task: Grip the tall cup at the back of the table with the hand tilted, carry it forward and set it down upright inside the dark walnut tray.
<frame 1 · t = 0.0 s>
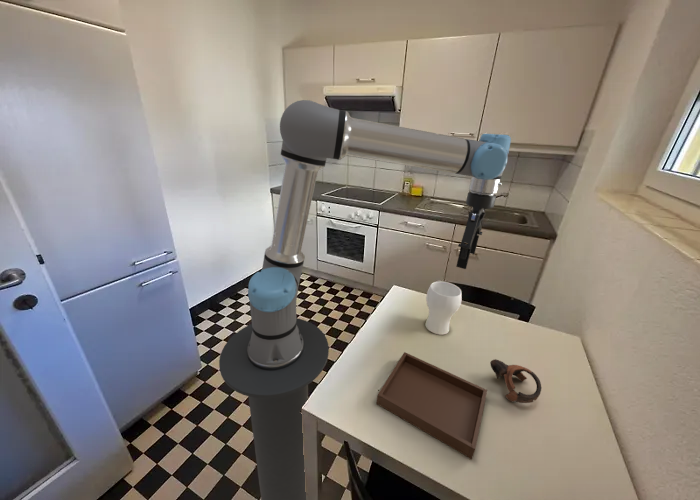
hand: (465, 259, 88), 24 cm above the table, tool pointing down, fingers open, 13 cm apart
brown curled loop: (509, 387, 73), on the table
tray: (431, 401, 67), on the table
cup: (436, 327, 94), on the table
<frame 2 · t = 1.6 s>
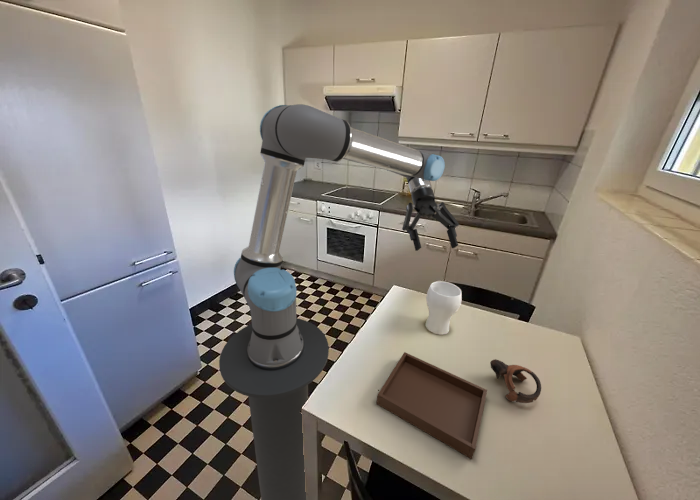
hand: (437, 248, 91), 25 cm above the table, tool tilted 45°, fingers open, 13 cm apart
nothing on the table moved.
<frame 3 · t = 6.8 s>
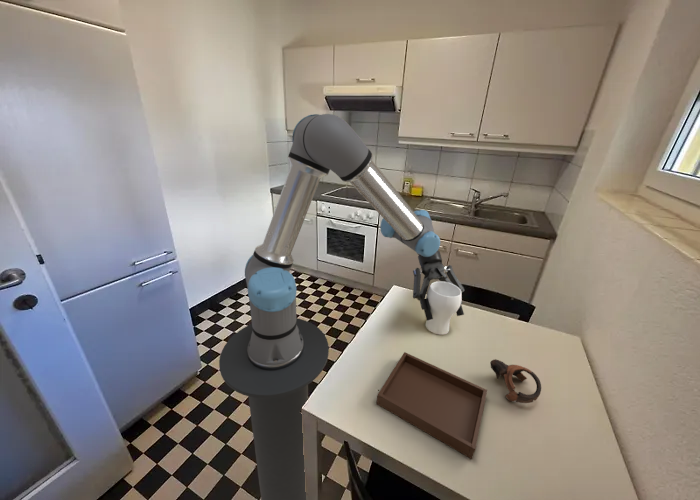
hand: (445, 317, 89), 6 cm above the table, tool tilted 45°, fingers closed on cup, 11 cm apart
cup: (436, 327, 94), on the table, touching gripper
everything else where it was.
when the fingers open (7 cm above the table, at t = 18.6 s): cup stays where it is, resting on tray.
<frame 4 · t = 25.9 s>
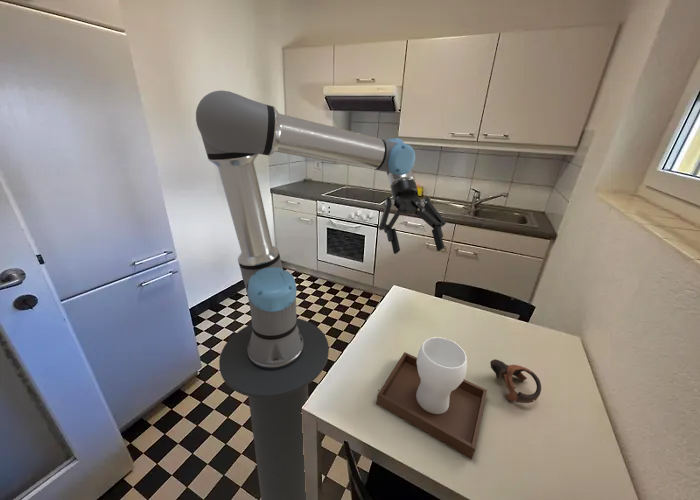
hand: (419, 250, 77), 30 cm above the table, tool tilted 45°, fingers open, 13 cm apart
cup: (432, 400, 67), resting on tray
everything else where it was.
at the end: cup inside the target area in the tray (0.1 cm from its centre), point 0.4 cm above the tray's base; cup tilted 0°; the gripper is holding nothing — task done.
